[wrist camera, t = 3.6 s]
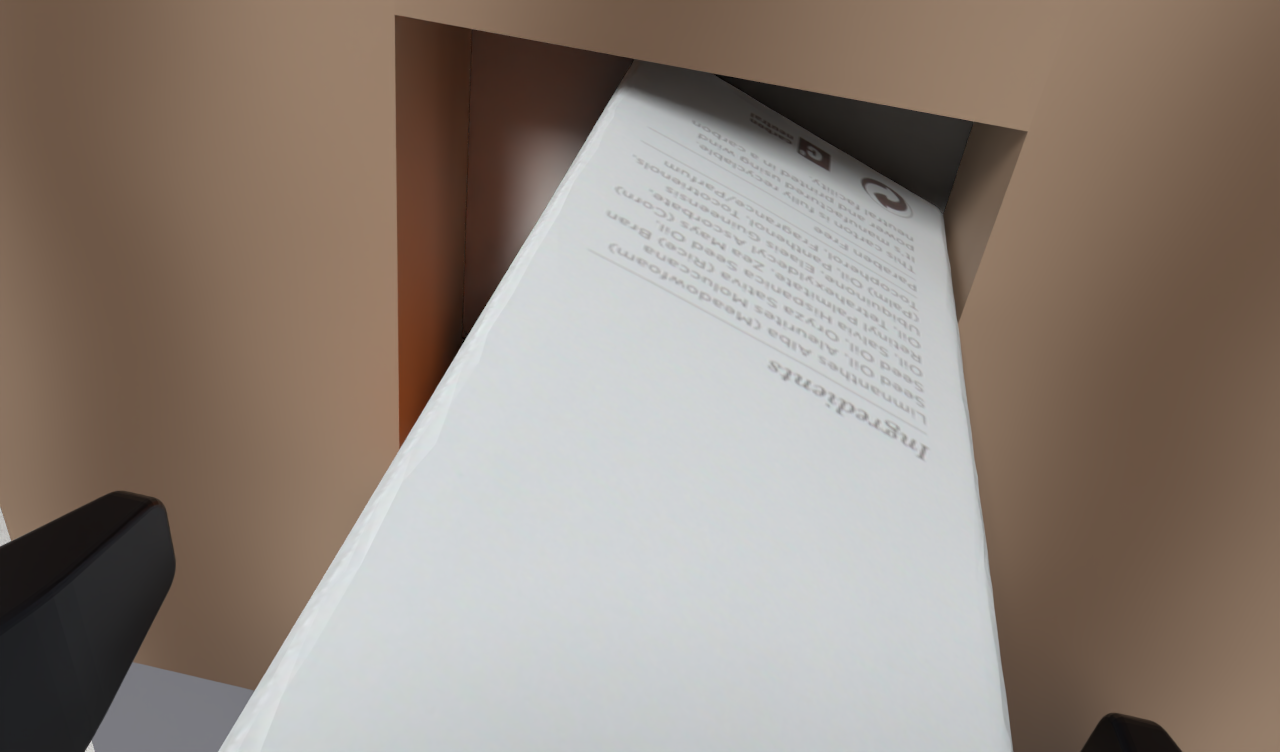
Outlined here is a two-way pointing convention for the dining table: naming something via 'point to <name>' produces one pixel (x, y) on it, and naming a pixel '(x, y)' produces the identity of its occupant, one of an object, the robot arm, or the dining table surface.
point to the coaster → (169, 713)
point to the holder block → (434, 280)
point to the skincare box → (676, 477)
